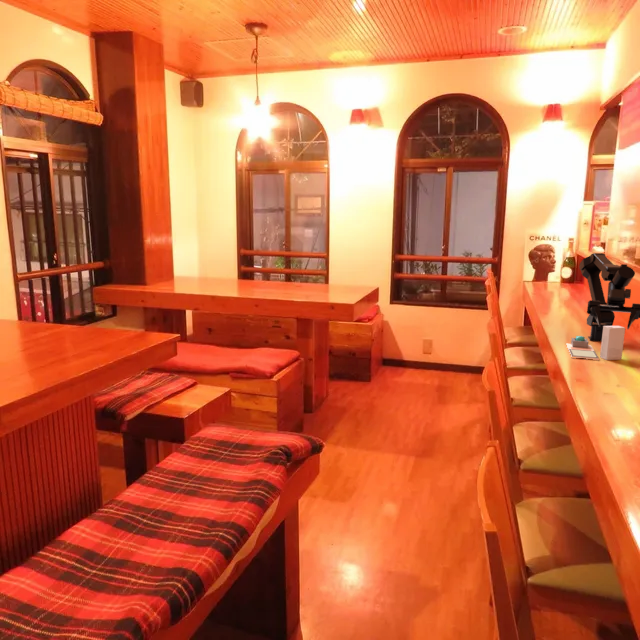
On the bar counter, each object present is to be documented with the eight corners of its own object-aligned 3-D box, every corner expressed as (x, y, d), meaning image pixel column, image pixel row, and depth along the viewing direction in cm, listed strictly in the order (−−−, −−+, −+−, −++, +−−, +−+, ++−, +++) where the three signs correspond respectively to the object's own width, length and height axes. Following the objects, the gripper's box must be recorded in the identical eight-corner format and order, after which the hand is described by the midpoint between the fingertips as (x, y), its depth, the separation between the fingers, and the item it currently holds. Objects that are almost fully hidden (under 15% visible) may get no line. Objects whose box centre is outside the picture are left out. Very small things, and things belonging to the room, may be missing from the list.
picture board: (565, 345, 218) (566, 337, 218) (590, 347, 216) (591, 339, 215) (571, 358, 200) (572, 349, 199) (598, 360, 197) (599, 351, 196)
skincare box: (614, 356, 202) (618, 324, 199) (622, 360, 197) (626, 327, 195) (598, 357, 201) (602, 325, 199) (606, 360, 197) (610, 327, 194)
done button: (575, 341, 216) (575, 335, 215) (583, 342, 215) (583, 336, 214) (575, 343, 213) (576, 337, 212) (584, 344, 212) (585, 338, 211)
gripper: (590, 279, 206) (587, 312, 199) (647, 282, 198) (646, 317, 191) (588, 296, 215) (585, 329, 207) (643, 300, 207) (641, 334, 199)
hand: (613, 327), depth 201 cm, fingers open, 9 cm apart
